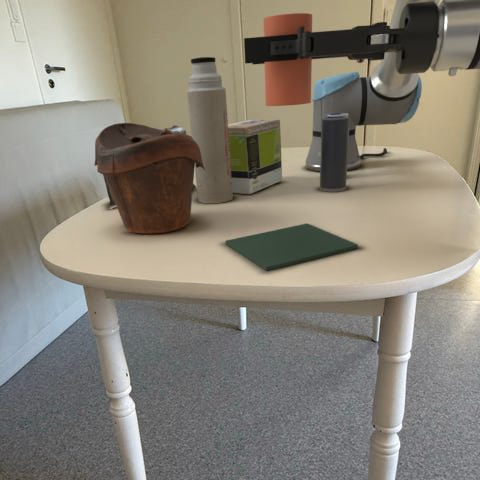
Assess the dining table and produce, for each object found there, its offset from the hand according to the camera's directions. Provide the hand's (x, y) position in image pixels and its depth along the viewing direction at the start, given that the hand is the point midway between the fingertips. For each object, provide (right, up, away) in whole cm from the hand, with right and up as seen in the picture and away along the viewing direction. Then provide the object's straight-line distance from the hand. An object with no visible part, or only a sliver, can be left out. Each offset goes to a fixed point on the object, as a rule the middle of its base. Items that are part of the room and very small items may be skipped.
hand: (249, 52), depth 59 cm
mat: (+7, -24, +12) cm, 27 cm away
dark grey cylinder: (+21, -5, +45) cm, 50 cm away
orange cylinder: (+5, -6, +2) cm, 8 cm away
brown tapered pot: (-17, -17, +27) cm, 36 cm away
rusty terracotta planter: (-22, -6, +48) cm, 54 cm away
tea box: (+1, -3, +52) cm, 52 cm away
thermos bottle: (-7, -8, +43) cm, 44 cm away
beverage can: (+23, +1, +56) cm, 61 cm away
